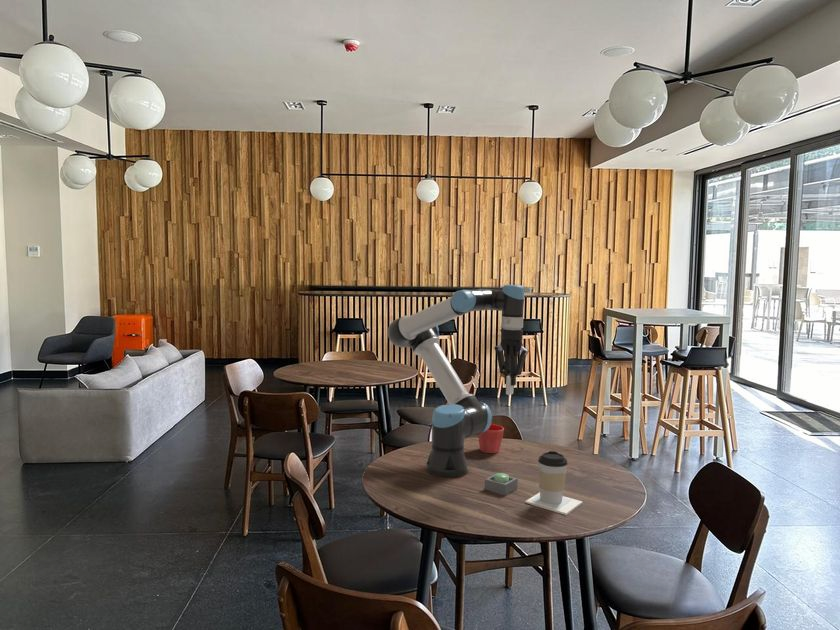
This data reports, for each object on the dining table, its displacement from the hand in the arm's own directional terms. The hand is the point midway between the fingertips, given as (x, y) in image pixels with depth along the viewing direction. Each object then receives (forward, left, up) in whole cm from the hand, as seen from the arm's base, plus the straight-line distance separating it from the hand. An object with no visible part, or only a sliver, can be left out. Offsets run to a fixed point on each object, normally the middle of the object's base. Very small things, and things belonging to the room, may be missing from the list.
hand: (509, 393), depth 214 cm
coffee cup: (+24, -13, -29) cm, 40 cm away
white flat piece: (+25, -13, -29) cm, 41 cm away
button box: (+6, -14, -29) cm, 33 cm away
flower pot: (-19, +19, -30) cm, 40 cm away
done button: (+6, -14, -29) cm, 33 cm away
